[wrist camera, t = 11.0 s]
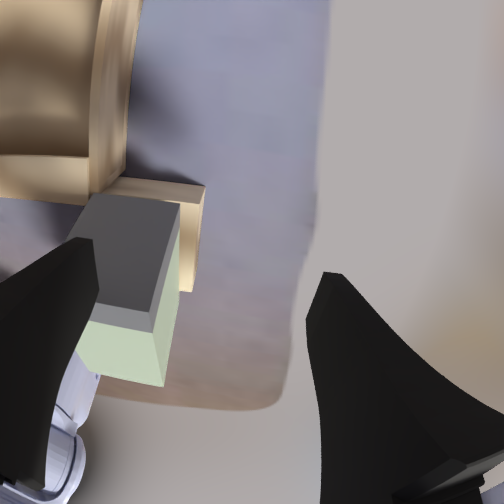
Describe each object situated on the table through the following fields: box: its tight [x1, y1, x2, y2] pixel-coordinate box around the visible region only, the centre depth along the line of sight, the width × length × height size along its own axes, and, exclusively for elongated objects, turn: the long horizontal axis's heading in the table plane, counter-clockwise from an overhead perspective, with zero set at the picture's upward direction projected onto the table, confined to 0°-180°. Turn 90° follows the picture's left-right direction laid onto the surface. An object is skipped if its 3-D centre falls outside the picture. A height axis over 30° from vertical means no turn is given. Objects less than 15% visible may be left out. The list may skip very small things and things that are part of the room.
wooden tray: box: [0, 0, 143, 206], centre depth 11 cm, size 15×14×4 cm
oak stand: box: [101, 177, 205, 292], centre depth 19 cm, size 6×6×2 cm
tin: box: [63, 193, 181, 387], centre depth 15 cm, size 8×4×6 cm, turn 170°
